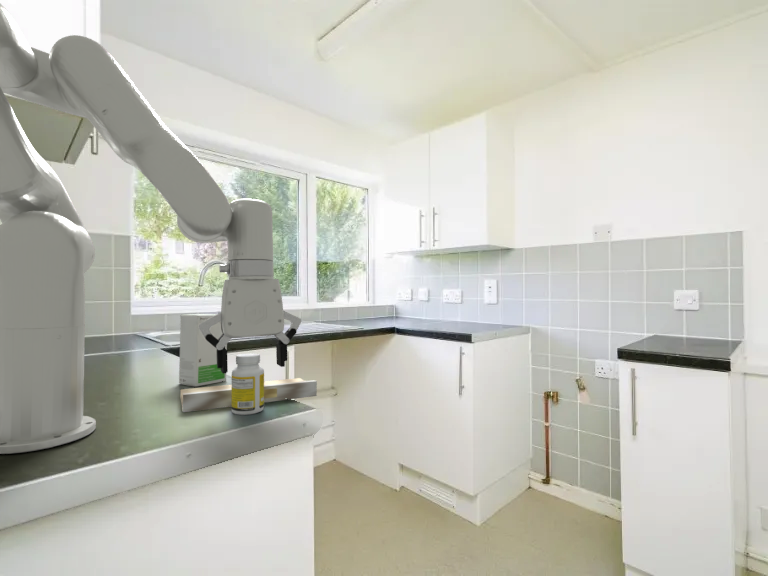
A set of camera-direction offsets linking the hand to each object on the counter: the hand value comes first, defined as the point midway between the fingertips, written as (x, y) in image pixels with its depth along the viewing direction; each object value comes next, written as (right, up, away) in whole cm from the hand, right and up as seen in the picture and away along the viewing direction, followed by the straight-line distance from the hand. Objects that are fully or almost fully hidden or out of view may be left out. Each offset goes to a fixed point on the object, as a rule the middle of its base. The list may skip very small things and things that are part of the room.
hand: (253, 368), depth 70 cm
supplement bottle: (-1, -8, -1) cm, 8 cm away
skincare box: (-18, -8, +21) cm, 29 cm away
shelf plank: (-4, -7, +9) cm, 12 cm away
